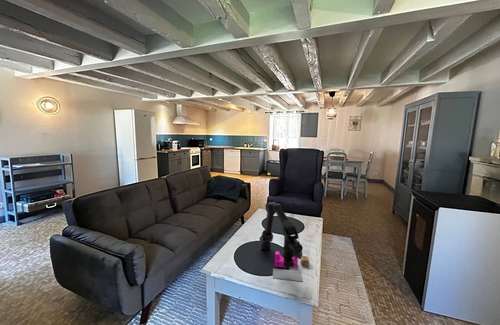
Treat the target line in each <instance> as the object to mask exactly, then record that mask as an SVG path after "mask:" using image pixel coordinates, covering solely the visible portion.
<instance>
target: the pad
mask: <svg viewBox="0 0 500 325" xmlns="http://www.w3.org/2000/svg"><path fill="white" fill-rule="evenodd" d="M302 274H303V273H302V271H300V270H291V269H289V270H287V269H282V268H272V279H276V280H286V281H294V282H295V281H296V282H300V283H301V282H304V281H303V280H304V279H303V276H302Z"/></svg>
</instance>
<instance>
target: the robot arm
mask: <svg viewBox="0 0 500 325" xmlns="http://www.w3.org/2000/svg"><path fill="white" fill-rule="evenodd" d="M264 207H265V211H266V219H265V226H264V230H263V231H262V233H261V235H260V236H259V238H258V239H259V242H260V243H261V246H260V247H261V249H260V251H264V252H270V251H271V242H273V239H274V234H273V232H272V228H273V222H274V216H275V214H276V216H277V217H278V219H279V221H280V223H281V230H282V233H283V234H282V236H283V237H284V238H283V246H282V252H283V253H282V257H283V258H284V259H283V266H285V267H286V269H285V270H290V268H289V267H291V268H295V266H294V260H293V259H292V257H294V256H295V257H297V258H298V260H301V257H302V256H304V255H303V250H304V249H303V245H302V243H301V242H300V240H297V239H300V238H299V233H298V231H297V228H296V226H295V224H294V223H293V222H291V221H290V220H289V218H288V217H287V215H286V213H285V211H284V209H283V207H282V205H281V203H277V202H276V201H273V202H266V203H265V206H264ZM285 267H284V268H285Z"/></svg>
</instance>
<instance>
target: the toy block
mask: <svg viewBox="0 0 500 325" xmlns="http://www.w3.org/2000/svg"><path fill="white" fill-rule="evenodd" d="M274 253H275V256H274V257H275V258H274V267H279V268H284V269H285V268H286V267H285V266H283V259H284V257H283V255H281V253H280V251H278V250H277V251H275V252H274ZM292 259H293V260H294V267H296V268H297V267H298V264H299V263H298V260H299V258H297V257H295V256H294V257H292ZM291 268H292V267H289V269H291Z"/></svg>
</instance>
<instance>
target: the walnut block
mask: <svg viewBox="0 0 500 325" xmlns="http://www.w3.org/2000/svg"><path fill="white" fill-rule="evenodd" d="M300 265H301V266H305V267H309V266H310V258H309V256H308V255H307V256H304V255H302V257H301V259H300Z"/></svg>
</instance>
